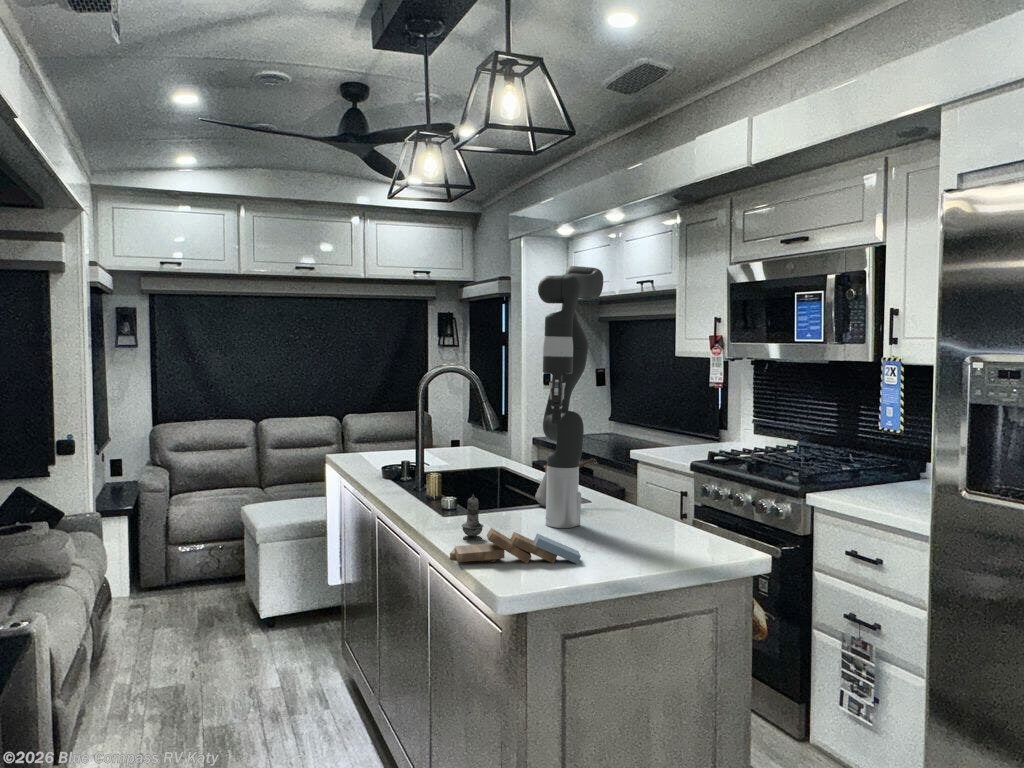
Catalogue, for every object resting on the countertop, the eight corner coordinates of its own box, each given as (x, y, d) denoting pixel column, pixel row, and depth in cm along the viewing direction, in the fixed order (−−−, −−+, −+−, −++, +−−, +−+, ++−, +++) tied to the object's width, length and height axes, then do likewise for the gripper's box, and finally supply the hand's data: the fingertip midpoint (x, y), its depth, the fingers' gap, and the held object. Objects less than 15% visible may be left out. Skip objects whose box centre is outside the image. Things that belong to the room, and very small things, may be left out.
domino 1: (498, 550, 181) (455, 547, 183) (495, 556, 176) (450, 553, 178) (498, 558, 181) (454, 555, 183) (494, 564, 176) (449, 561, 178)
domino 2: (499, 542, 179) (454, 546, 177) (504, 550, 174) (458, 553, 172) (499, 550, 180) (454, 554, 177) (504, 558, 175) (458, 562, 172)
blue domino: (578, 550, 181) (536, 533, 180) (580, 556, 176) (538, 538, 175) (574, 558, 181) (533, 540, 180) (577, 564, 176) (535, 546, 175)
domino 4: (554, 550, 181) (513, 531, 180) (557, 556, 176) (515, 536, 175) (550, 557, 181) (510, 539, 180) (553, 563, 176) (512, 544, 175)
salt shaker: (461, 536, 200) (461, 491, 199) (482, 536, 200) (483, 491, 200) (461, 541, 194) (462, 496, 193) (483, 541, 195) (484, 496, 194)
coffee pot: (543, 510, 235) (545, 463, 234) (529, 502, 245) (530, 457, 244) (603, 506, 243) (604, 460, 242) (586, 499, 253) (587, 455, 253)
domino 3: (529, 550, 180) (491, 527, 179) (531, 556, 175) (492, 532, 174) (525, 557, 180) (486, 534, 179) (527, 563, 175) (487, 539, 174)
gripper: (572, 355, 180) (570, 426, 181) (573, 355, 193) (571, 421, 194) (541, 354, 181) (540, 425, 182) (544, 354, 194) (543, 420, 195)
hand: (556, 423), depth 188 cm, fingers closed
